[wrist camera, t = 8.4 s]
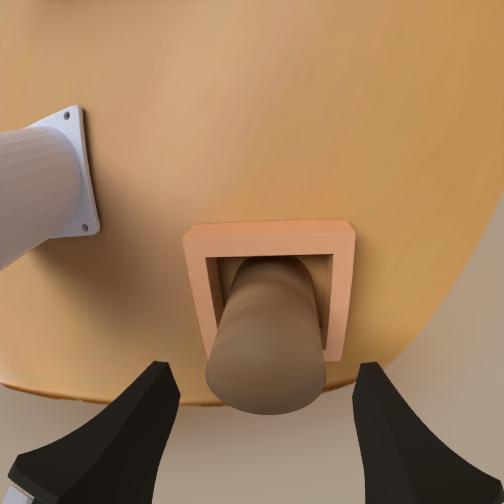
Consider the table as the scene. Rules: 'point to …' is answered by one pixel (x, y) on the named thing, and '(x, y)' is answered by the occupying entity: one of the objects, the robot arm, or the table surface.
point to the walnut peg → (268, 339)
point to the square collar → (266, 244)
